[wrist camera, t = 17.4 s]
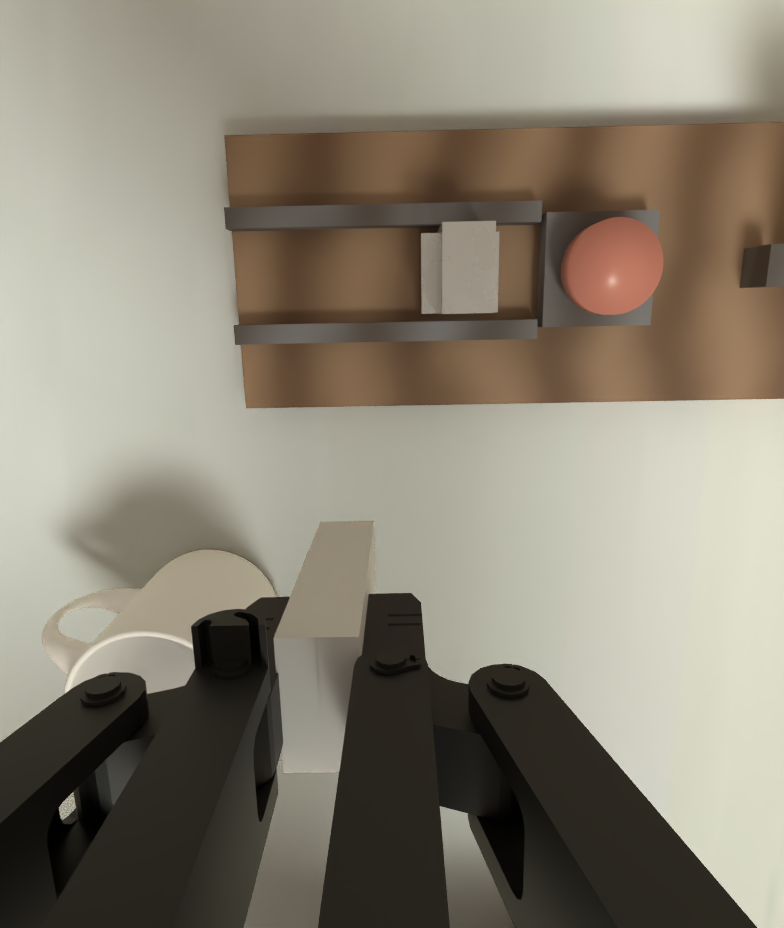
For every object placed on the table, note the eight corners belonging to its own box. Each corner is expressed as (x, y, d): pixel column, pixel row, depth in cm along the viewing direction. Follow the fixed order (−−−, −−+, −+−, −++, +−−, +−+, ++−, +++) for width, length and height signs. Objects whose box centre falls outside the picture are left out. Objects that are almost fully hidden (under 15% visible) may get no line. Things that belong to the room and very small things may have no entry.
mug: (113, 512, 38) (6, 588, 28) (297, 567, 39) (260, 660, 29) (87, 630, 40) (-21, 742, 30) (263, 679, 41) (217, 805, 31)
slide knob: (496, 233, 32) (514, 220, 27) (495, 312, 33) (511, 312, 28) (420, 234, 32) (424, 222, 27) (421, 313, 33) (425, 314, 28)
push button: (653, 220, 30) (667, 215, 28) (645, 313, 31) (659, 313, 29) (562, 222, 30) (571, 218, 28) (558, 315, 31) (567, 315, 29)
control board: (907, 129, 32) (984, 102, 28) (862, 391, 36) (925, 403, 32) (234, 145, 33) (210, 121, 29) (254, 402, 36) (235, 415, 32)
